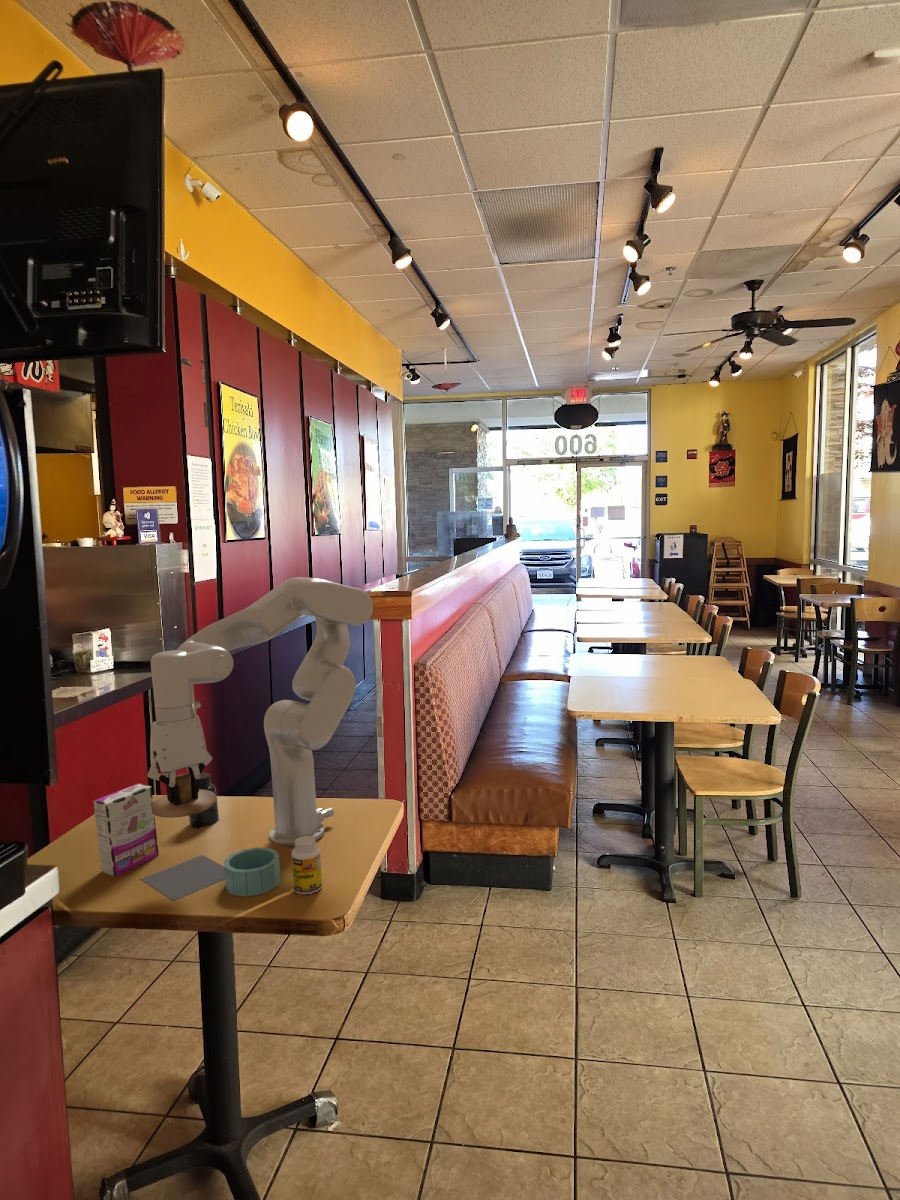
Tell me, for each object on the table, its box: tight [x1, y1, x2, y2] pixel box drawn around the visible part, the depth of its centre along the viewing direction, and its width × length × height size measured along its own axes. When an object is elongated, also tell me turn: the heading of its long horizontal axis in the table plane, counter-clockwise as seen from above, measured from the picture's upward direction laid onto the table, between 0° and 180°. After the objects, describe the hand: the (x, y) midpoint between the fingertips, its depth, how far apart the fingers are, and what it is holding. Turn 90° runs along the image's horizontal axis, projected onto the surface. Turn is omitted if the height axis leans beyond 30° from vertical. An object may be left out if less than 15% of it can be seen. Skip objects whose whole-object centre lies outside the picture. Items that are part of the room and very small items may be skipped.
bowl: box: [223, 847, 282, 897], centre depth 156 cm, size 11×11×6 cm
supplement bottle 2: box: [291, 836, 323, 896], centre depth 153 cm, size 6×6×10 cm
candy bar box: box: [92, 783, 160, 877], centre depth 166 cm, size 11×5×16 cm, turn 148°
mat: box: [140, 854, 225, 902], centre depth 160 cm, size 14×14×1 cm
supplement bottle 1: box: [188, 772, 220, 829], centre depth 188 cm, size 7×7×12 cm
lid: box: [151, 773, 217, 819], centre depth 158 cm, size 12×12×6 cm
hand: (183, 799), depth 158 cm, fingers closed on lid, 3 cm apart
